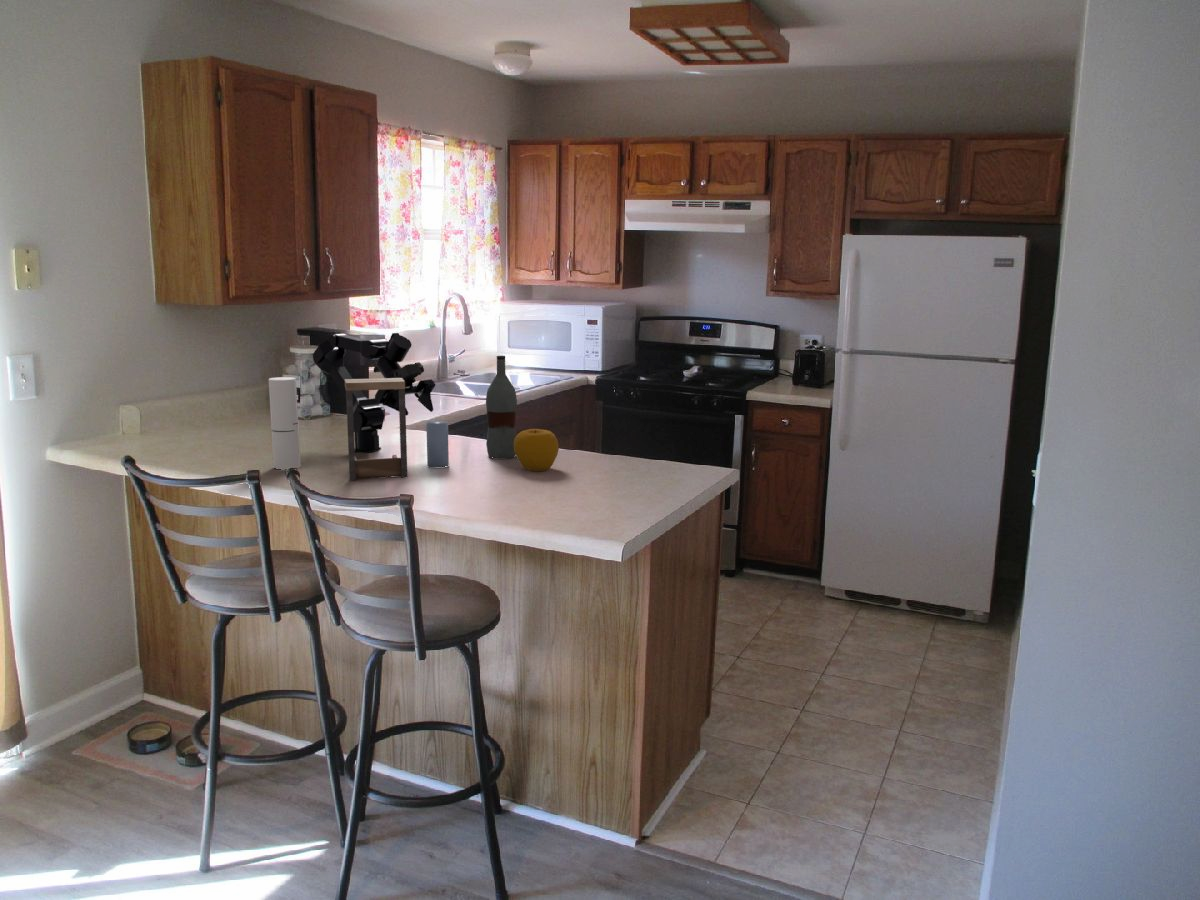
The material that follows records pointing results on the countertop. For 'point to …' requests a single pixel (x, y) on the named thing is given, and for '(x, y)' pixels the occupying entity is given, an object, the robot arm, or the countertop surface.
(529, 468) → the apple
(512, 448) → the bottle
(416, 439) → the countertop surface
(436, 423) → the blue-grey tall cylinder
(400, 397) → the shelf bay
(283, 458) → the cylindrical container
